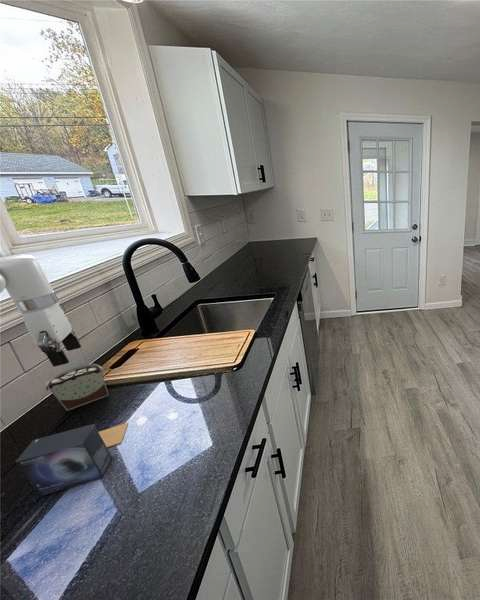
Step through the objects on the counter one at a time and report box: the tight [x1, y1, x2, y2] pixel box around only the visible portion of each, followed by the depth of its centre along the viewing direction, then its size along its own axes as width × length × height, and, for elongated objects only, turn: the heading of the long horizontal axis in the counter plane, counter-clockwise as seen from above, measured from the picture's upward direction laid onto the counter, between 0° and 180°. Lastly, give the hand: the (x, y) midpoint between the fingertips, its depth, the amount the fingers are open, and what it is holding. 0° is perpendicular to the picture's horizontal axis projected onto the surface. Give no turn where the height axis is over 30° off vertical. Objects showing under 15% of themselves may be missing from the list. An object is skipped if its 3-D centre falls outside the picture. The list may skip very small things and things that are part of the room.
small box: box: [15, 423, 114, 498], centre depth 67 cm, size 11×6×10 cm, turn 114°
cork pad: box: [98, 422, 129, 449], centre depth 78 cm, size 13×8×1 cm, turn 119°
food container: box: [45, 363, 110, 412], centre depth 94 cm, size 12×6×10 cm, turn 133°
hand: (68, 356), depth 90 cm, fingers open, 9 cm apart
